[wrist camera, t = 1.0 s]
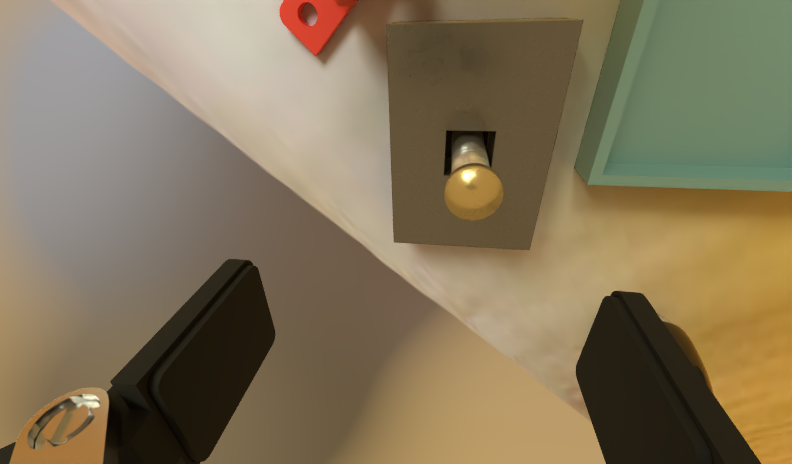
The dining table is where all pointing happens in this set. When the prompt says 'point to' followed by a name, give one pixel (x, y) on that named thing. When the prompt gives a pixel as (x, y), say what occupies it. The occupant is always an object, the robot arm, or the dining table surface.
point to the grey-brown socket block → (475, 120)
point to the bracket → (331, 9)
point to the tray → (694, 97)
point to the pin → (472, 178)
